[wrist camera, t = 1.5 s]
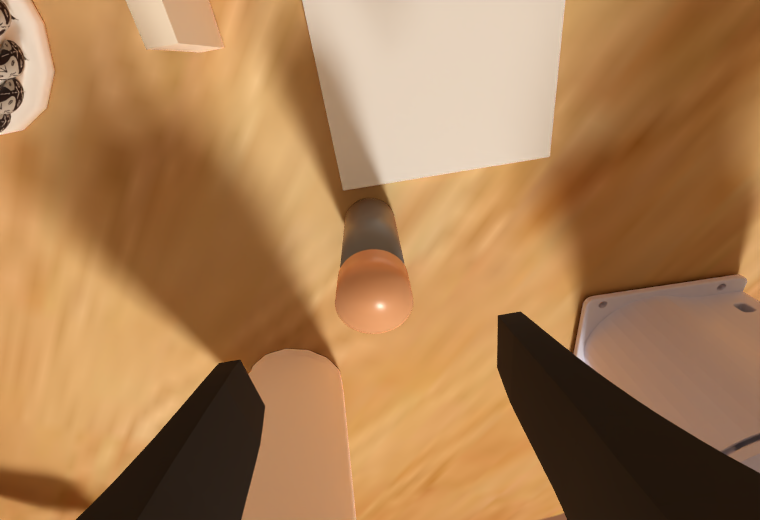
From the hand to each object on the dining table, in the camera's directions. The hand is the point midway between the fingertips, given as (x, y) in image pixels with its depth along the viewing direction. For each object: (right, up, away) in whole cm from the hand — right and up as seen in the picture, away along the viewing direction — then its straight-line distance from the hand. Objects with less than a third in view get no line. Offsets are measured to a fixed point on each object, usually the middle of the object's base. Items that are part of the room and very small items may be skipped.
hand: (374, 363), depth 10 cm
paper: (+3, +11, +5) cm, 12 cm away
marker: (0, +5, +8) cm, 10 cm away
